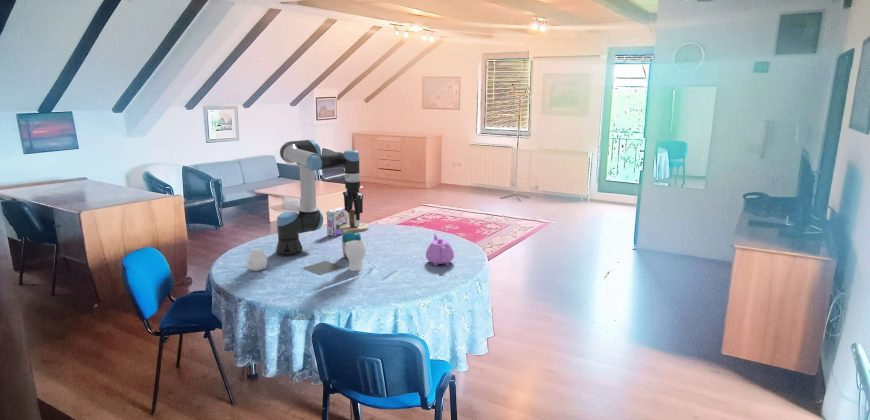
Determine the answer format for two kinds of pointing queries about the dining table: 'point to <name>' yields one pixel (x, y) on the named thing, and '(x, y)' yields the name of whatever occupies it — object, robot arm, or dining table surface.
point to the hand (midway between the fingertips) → (354, 225)
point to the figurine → (257, 260)
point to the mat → (322, 267)
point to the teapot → (439, 252)
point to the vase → (347, 238)
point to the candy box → (336, 221)
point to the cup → (355, 254)
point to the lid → (353, 225)
